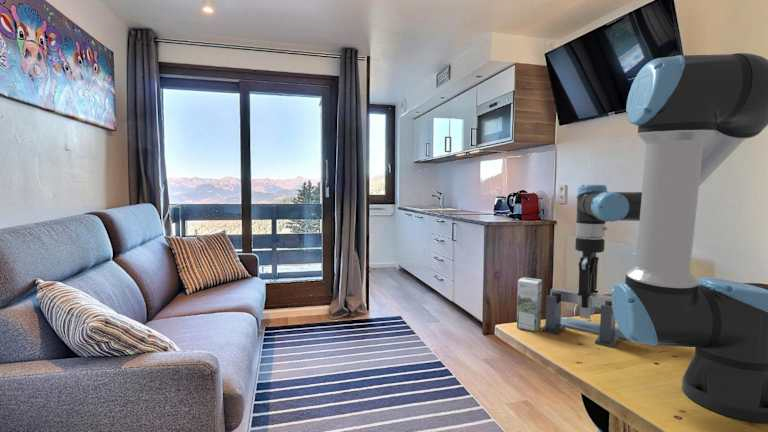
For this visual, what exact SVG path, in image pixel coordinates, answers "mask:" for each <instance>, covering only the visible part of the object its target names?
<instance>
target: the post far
mask: <svg viewBox="0 0 768 432" xmlns="http://www.w3.org/2000/svg"><path fill="white" fill-rule="evenodd" d="M545 296H546V297H545V325H544V326H542V327H541V329H540V331H541V332H544V333H549V334H552V335H553V334H554V335H557V336H558V335H559V334H560V333H561V332H562V331H563V330H564V329H565V327H564V326H565V325H561V316H562V301H561V300H562V293H557V292H552V296H550V295H545Z"/></svg>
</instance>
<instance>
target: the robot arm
mask: <svg viewBox="0 0 768 432" xmlns="http://www.w3.org/2000/svg"><path fill="white" fill-rule="evenodd" d="M625 110H626V111H625V113H626V118H627V121H628V122H629V123H630V124H632V125H634V126H637V136H638V137H639V138H640V139H641V140H643V142H644V143H645V153H644V167H643V175H642V187H641V189H642V190H641V191H640V192H639V191H635V192H634V191H608V188H607V186H606V185H605V184H581V185H579V186H578V187H577V195H576V223H575V236H576V238H575V247H574V248H575V250H576V251H578V252H582V253H581V255H582V256H580V258H579V259H580V261H579V262H578V291H579V292H578V293H577V295H579V296H580V304H579V318H580V319H581V318H582V319H587V320H590V319H591V316H594V314H595V307H592V306H591V297H590V296H591V295H590V293H593V294H599V293H598V292H599V291H598V290H597V289H598V288H597V287H598V286H597V283H598V268H599V260H600V258H599V256H597V253H603V252H604V251H605V243H606V242H605V239H604V237H605V236H606V235H605V234H606V231H608V227H607V226H606V223H607V222H611V223H613V222H618V221H620V222H623V221H625V222H627V221H629V222H630V221H632V222H633V221H634V222H639V224H638V234H637V244H636V247H637V248H636V256H635V257H636V258H635V265H634V266H633V267H630V268H629V269H628V270H626V272H625V280H624V282H622V281H621V282H617V283H615V285H613V288H612V291H611V295H610V296H611V300H612V309H613V313H614V317H615V324H616V325H617V327H619V329H620V331H621V332H622V334H623V335H624V336H625V337H626V339H627V340H628V341H629V342H631V343H634V344H638V345H639V344H641V345H650V346H652V347H656V346H664V347H682V348H694V355H693V357H692V359H691V361H690V362H689V363H688V364H689V365H688V366H687V368H686V369H685V372H684V374H683V375H682V381H681V390H682V392H683V394H685V396H686V397H688V398H689V399H691V401H693V402H695V403H696V404H698V405H700V406H702V407H704V408H706V409H709V410H710V411H713V412H716V413H719V414H720V415H724V416H727V417H730V418H734V419H737V420H743V421H748V422H754V423H760V424H761V423H762V424H763V423H764V424H768V289H765V288H762V287H760V286H756V285H752V284H747V283H742V282H738V281H733V280H728V279H722V278H716V277H710V276H709V277H708V276H707V277H705V276H704V277H701V278H699V280H698V279H697V277H695V276H694V275H693V274H692V273H691V264H692V254H693V246H694V237H695V225H696V217H697V207H698V200H699V199H698V198H699V191H700V189H699V188H700V186H702V184H703V183H704V182H706V180H707V179H708V178H709V177H710V176H711V175H712V174H713V173H714V172H715V171H716V170H717V169H718V168H719V167H720V166H721V165H722V164H723V163H724V161H726V160H727V158H729V157H730V156H731V155H732V153H734V151H736V149H737V148H738V147H739V146H740V145H741V144H743V142H744V141H745V140H748V139H751V138H755V137H756V136H758V135H760V134H761V132H762V131H764V129H765V128H766V127H767V126H768V59H767V58H766V57H764V56H761V55H758V54H755V53H754V54H753V53H747V52H737V53H730V54H727V53H726V54H725V53H724V54H721V53H720V54H693V55H692V54H689V55H688V54H687V55H686V54H685V55H682V54H679V55H675V56H674V55H673V56H667V57H666V56H665V57H657V58H654V59H652V60H649V62H647V63H646V64H645V65H644V66H643V67H642V68H641V69H640V70H639V72H638V73H637V74H636V76H635V78H634V79H633V82H632V84H631V86H630V90H629V92H628V95H627V99H626V109H625Z"/></svg>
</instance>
